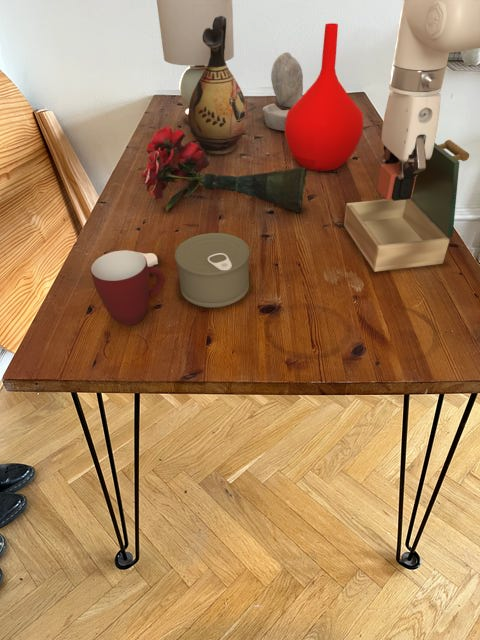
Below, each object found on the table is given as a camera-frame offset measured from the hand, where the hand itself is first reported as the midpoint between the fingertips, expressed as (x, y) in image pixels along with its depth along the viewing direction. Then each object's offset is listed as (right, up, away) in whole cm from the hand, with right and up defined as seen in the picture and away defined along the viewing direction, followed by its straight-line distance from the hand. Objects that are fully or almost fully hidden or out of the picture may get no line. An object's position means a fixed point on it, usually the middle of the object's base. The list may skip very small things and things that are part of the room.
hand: (394, 191), depth 83 cm
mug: (-43, -22, -7) cm, 49 cm away
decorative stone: (-12, +48, +74) cm, 89 cm away
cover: (+6, +2, 0) cm, 6 cm away
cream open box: (+1, -8, +7) cm, 11 cm away
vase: (-7, +17, +36) cm, 40 cm away
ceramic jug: (-32, +24, +47) cm, 62 cm away
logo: (-45, -13, +3) cm, 47 cm away
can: (-31, -17, -2) cm, 35 cm away
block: (0, 0, 0) cm, 0 cm away
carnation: (-30, +4, +22) cm, 38 cm away
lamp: (-38, +39, +65) cm, 85 cm away
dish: (-12, +35, +58) cm, 69 cm away
